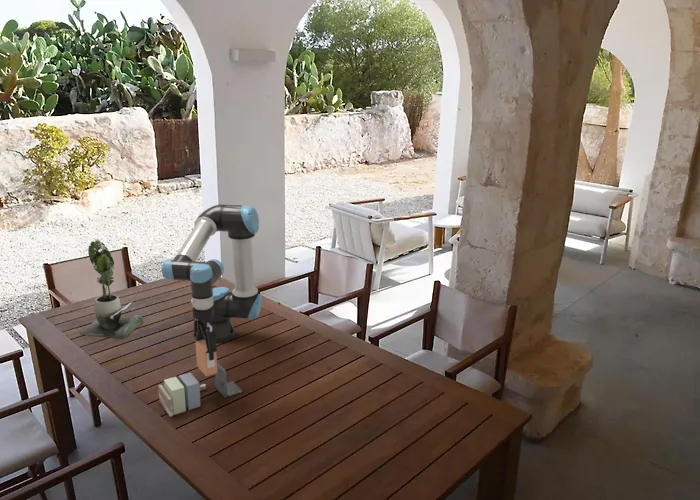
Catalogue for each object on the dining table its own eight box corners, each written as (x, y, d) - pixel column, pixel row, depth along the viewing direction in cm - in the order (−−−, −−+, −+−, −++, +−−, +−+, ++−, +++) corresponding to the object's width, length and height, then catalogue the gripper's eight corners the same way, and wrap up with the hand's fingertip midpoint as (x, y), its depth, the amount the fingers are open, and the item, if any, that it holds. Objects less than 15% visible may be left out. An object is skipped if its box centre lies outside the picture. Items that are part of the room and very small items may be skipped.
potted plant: (143, 321, 283) (135, 234, 270) (123, 338, 265) (114, 246, 252) (102, 318, 286) (92, 231, 272) (79, 334, 268) (68, 242, 255)
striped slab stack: (204, 387, 227) (204, 372, 225) (216, 401, 218) (216, 385, 216) (159, 401, 217) (158, 385, 215) (170, 416, 208) (168, 399, 205)
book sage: (177, 399, 218) (175, 376, 215) (185, 411, 211) (184, 387, 208) (165, 403, 216) (163, 379, 213) (173, 414, 209) (172, 390, 206)
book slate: (191, 395, 222) (190, 372, 218) (200, 406, 215) (199, 382, 212) (180, 398, 219) (178, 375, 216) (189, 410, 212) (187, 386, 209)
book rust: (208, 362, 222) (206, 339, 219) (217, 372, 215) (216, 349, 212) (196, 366, 220) (195, 342, 216) (205, 376, 213) (204, 352, 210)
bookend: (233, 382, 231) (232, 357, 228) (242, 392, 224) (241, 366, 221) (215, 387, 227) (214, 362, 223) (224, 397, 220) (223, 371, 217)
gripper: (182, 298, 216) (185, 352, 222) (204, 319, 199) (207, 376, 206) (201, 294, 220) (204, 347, 227) (224, 314, 203) (227, 370, 210)
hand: (205, 361), depth 216 cm, fingers closed on book rust, 9 cm apart
